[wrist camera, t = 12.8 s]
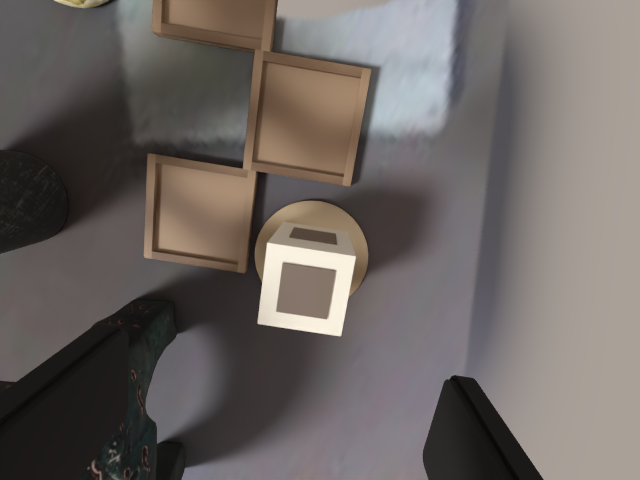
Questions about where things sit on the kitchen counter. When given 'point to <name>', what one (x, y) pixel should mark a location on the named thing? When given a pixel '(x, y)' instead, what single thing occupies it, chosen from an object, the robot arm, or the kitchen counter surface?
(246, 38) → the tray
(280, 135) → the tray
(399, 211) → the kitchen counter surface
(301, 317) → the white box with panels
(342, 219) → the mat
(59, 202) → the travel mug
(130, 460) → the ceramic cat
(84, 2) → the bread roll
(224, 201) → the tray
